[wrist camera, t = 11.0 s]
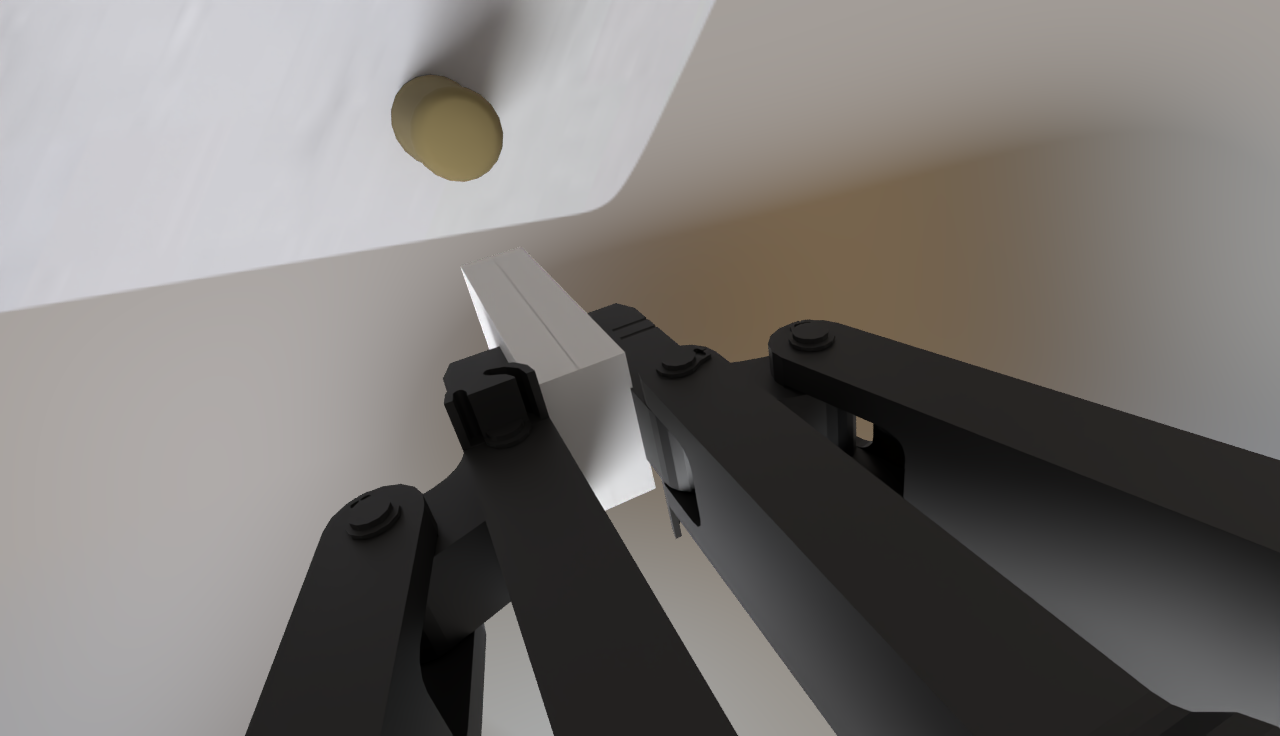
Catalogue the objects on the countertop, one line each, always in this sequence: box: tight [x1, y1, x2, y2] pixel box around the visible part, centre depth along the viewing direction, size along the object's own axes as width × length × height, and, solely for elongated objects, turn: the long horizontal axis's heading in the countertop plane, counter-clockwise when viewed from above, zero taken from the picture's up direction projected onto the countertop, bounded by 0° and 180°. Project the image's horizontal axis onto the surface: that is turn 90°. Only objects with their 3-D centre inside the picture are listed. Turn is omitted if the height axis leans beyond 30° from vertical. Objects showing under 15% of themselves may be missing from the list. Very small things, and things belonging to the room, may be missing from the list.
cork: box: [391, 75, 503, 182], centre depth 39 cm, size 6×6×11 cm
